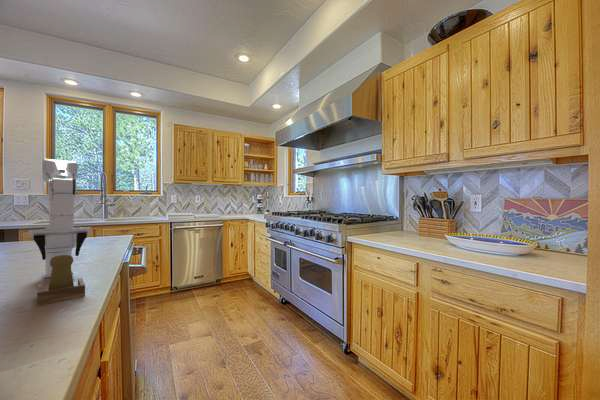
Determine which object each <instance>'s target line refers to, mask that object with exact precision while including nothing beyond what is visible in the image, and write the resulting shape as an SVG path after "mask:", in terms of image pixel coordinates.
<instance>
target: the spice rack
mask: <svg viewBox="0 0 600 400" xmlns="http://www.w3.org/2000/svg"><path fill="white" fill-rule="evenodd" d="M36 290H37V291H36V306H42V305H46V304H51V303H55V302H56V303H57V302H62V301H66V300H72V299H77V298H82V297H85V296H86V284H85V281H84V278H83V277H78V278H77V285H74V286H72V287H66V288H60V289H55V290H49V291H48V290H44V283H38V284H37V289H36ZM43 290H44V291H43Z"/></svg>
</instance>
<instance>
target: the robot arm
mask: <svg viewBox="0 0 600 400" xmlns="http://www.w3.org/2000/svg"><path fill="white" fill-rule="evenodd" d="M41 165H42V168H41V170H42V179H43V182H45V183H47V184H48V185H47V187H48V188H47V194H48V200H49V213H48V214H49V215H48V216H49V220H48V223H49V225H48V226H47V227H45V228H40V229H29V230H28V233H27V234H28V238H33V240H34V243H35V244H36V245H37V247H38V249H39V251H40V254H41V258H42V261H44V262H45V264H44V271H43V276H42V277H43V278H44V279H45V278H51V273H52V267H51V266H50V260H51V259H52V258H53V257H55V256H60V255H70V256H72V255H73V254H72V253H73V252H72V251H73V249H75V254H74V255H75V257H79V255H80V251H81V248H82V245H83V244H84V242H85V240H86V238H87V237H88V234H92V227H91V226H90V227H89V226H87V227H86V226H85V227H82V226H80V227H74V226H75V225H74V224H75V223H74V221H75V220H74V219H75V196H76V194H77V176H78V168H79V167H78V165H79V164H78V162H77V161H76V160H63V159H56V158H55V159H52V158H46V157H45V158H43V159H42V163H41ZM72 257H73V256H72ZM71 270H72V275H73V274H74V269H73V268H72V267H71Z"/></svg>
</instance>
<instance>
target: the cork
mask: <svg viewBox="0 0 600 400" xmlns="http://www.w3.org/2000/svg"><path fill="white" fill-rule="evenodd" d="M73 262H74V258H73V256H70V255H60V256H55V257H53V258H52V259H51V260H50V266H51V267H52V273H51V277H49V284H48V288H47V289H48V290H47V291H49V290H55V289H60V288H66V287H72V286H75V285H74V279H73V274H72V270H73V269H72V270H71V268H72V265H73Z"/></svg>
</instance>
